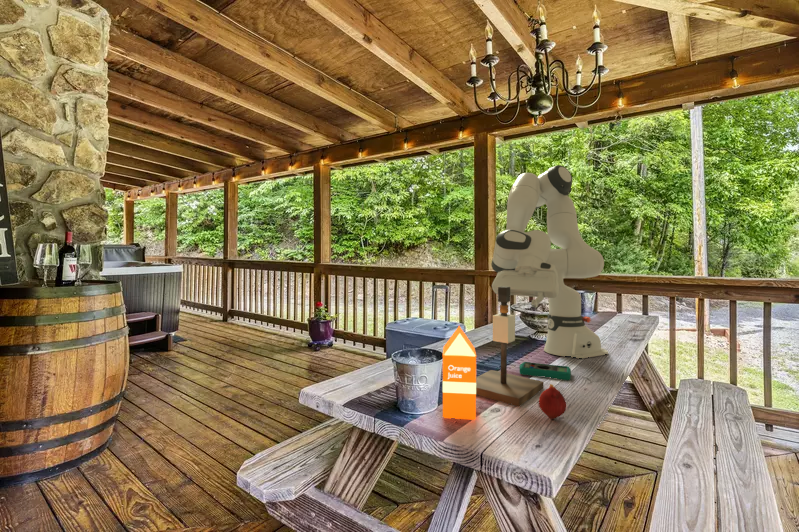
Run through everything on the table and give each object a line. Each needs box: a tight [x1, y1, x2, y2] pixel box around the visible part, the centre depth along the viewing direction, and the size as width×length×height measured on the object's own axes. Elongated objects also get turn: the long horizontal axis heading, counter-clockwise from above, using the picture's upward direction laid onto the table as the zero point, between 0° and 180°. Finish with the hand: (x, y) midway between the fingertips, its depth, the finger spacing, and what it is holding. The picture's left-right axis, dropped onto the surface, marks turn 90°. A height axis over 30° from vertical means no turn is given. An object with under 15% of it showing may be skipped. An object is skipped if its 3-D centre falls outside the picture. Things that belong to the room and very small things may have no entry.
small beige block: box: [492, 312, 516, 344], centre depth 103 cm, size 4×4×7 cm
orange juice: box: [441, 325, 477, 421], centre depth 90 cm, size 8×9×20 cm
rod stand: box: [476, 286, 544, 408], centre depth 104 cm, size 16×16×28 cm
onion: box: [538, 383, 567, 420], centre depth 86 cm, size 6×6×8 cm
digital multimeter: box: [518, 361, 572, 381], centre depth 118 cm, size 7×15×3 cm, turn 65°
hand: (518, 304), depth 116 cm, fingers open, 8 cm apart
